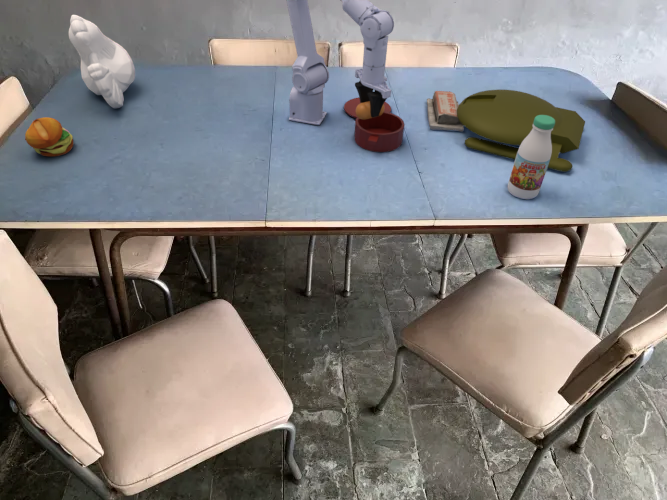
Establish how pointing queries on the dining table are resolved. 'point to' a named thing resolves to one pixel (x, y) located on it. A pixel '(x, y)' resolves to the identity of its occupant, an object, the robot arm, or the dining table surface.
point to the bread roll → (366, 110)
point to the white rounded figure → (101, 61)
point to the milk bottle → (532, 159)
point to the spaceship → (517, 124)
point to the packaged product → (443, 112)
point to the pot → (379, 132)
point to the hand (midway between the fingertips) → (370, 112)
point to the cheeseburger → (49, 137)
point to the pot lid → (353, 103)
